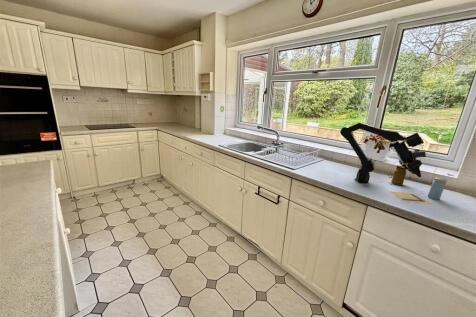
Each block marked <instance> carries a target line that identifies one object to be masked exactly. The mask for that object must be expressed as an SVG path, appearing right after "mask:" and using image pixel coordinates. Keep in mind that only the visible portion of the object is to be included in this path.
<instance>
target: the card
mask: <svg viewBox="0 0 476 317" xmlns="http://www.w3.org/2000/svg"><path fill="white" fill-rule="evenodd" d="M388 193H389V194H391V195H393V196H394V197H396V199H399V200H400V201H401V202H403V203H413V204H427V205H433V203H432V202H430V201H429V200H427V199H426V198H424V197H422V196H420V195H418V194H417V193H415V192H405V191H391V190H388Z"/></svg>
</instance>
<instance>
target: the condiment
mask: <svg viewBox="0 0 476 317" xmlns="http://www.w3.org/2000/svg"><path fill="white" fill-rule="evenodd" d="M406 175H407V169H406V168H404V167H403V166H402V165H400V164H399V165H396V166H395V169H394V171H393V174H392V178H391V182H389V184H391V185H393V186H398V187H408V185H407V184H404V181H405V178H406Z"/></svg>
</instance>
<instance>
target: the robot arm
mask: <svg viewBox="0 0 476 317" xmlns="http://www.w3.org/2000/svg"><path fill="white" fill-rule="evenodd" d="M358 130H362V131H365V132H367V133H371V134H374V135H377V136H380V137H382V138H384V139H385V140H387V141H389V145H388V148H389V149H390V148H393V149H394V151H395V152H396V154H397V155H396V156H397V157H399V159H398V163H399V166H403V167H404V168H406V171H408V172H410V173H411V174H412V175H415V176H416V177H418V178H421V177H422V173H421V168H420V167H421V166H422V164H423V162H422V160H421V159H417V158H426V157H427V153H426V151H425V150H420V149H418V148H417V149H414V150H413V151H412V150H410V149H409V148H408V147H410V148H415V147H417V146H420V145H422V144H425V142H424V140H423V139H422V137H421V136H420V135H419V133H418V132H414V133H413V134H412V133H411V135H408V136H406V135H405V136H404V135H401V134H400V132H398V131H397V130H390V129H382V128H379V127H376V126H373V125H369V124H367V123H364V122H362V121H361V122H359V121H358V122H357V123H355V124H353V125H351V126H344V127H342V128H341V129H340V131H339V132H340V135H341V136H342V137H343V138H344V139H345V140H346V141H347V142H348V144H349V145H350V146H351V148H352V149H353V152H354V153H355V154H356V156H357V158H358V159H359V160H360V165H361V166H360V167H359V168H358V170H357V172H356V177H355V178H354V180H355V181H356V182H358V184H370V182H369V181H370V178H371V173H372V172H373V171H374V169H375V166H376V165H375V161H374V160H373V158H372V157H370V158H369V157H368V156H367V155H366V153H365V152H364V150H363V149H362V147H361V145H360V144H359V142H358V141H357V139H356V138H355V135H354V132H356V131H358Z"/></svg>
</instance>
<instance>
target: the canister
mask: <svg viewBox="0 0 476 317" xmlns="http://www.w3.org/2000/svg"><path fill="white" fill-rule="evenodd" d="M447 182H448V179H446V178H444V177H439V176H434V177H433V180H432V183H431V185H430V188H429V191H428V193H427V196H426V197H427V198H428V199H429V200H434V201H440V199H441V197H442V195H443V192H444V189H445V186H446V184H447Z"/></svg>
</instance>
